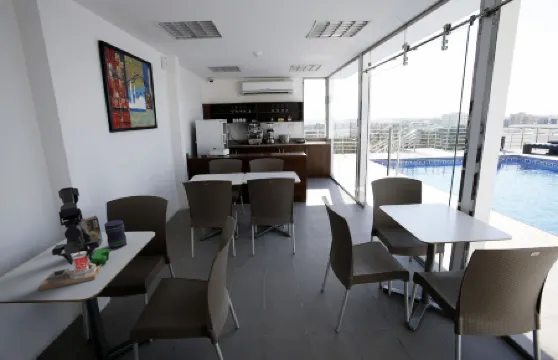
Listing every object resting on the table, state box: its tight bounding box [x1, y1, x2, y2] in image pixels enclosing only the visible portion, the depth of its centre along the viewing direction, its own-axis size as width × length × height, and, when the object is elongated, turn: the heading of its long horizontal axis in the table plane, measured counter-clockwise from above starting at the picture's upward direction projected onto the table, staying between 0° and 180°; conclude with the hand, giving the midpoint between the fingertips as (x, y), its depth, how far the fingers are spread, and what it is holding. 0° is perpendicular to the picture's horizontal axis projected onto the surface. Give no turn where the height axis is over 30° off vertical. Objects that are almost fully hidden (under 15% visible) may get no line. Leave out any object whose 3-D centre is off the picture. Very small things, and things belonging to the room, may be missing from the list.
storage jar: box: [104, 219, 128, 250], centre depth 165 cm, size 10×10×15 cm
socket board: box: [37, 262, 102, 291], centre depth 132 cm, size 12×22×4 cm, turn 110°
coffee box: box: [81, 215, 104, 243], centre depth 172 cm, size 9×6×16 cm
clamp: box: [90, 248, 111, 265], centre depth 146 cm, size 12×6×9 cm, turn 12°
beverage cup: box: [71, 251, 89, 273], centre depth 132 cm, size 6×6×14 cm
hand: (81, 262), depth 133 cm, fingers closed on beverage cup, 8 cm apart
